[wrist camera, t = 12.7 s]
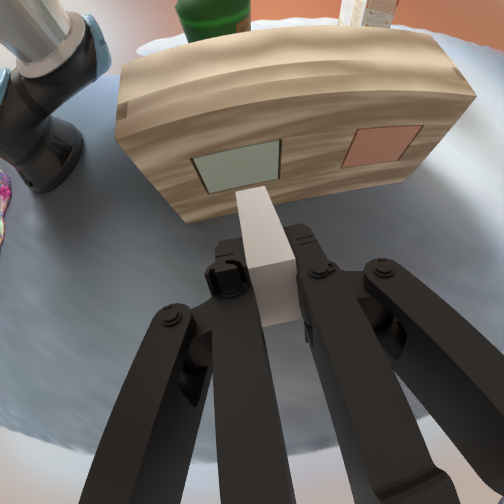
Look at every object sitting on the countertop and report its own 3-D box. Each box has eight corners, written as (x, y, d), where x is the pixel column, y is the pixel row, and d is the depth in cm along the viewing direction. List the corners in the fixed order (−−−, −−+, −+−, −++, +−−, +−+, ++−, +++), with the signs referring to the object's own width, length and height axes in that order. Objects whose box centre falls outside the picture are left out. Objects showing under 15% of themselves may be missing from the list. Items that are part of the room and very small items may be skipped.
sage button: (277, 178, 33) (279, 140, 25) (209, 193, 33) (193, 158, 25) (271, 157, 34) (271, 116, 26) (206, 171, 34) (189, 133, 26)
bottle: (269, 83, 46) (264, -55, 19) (220, 111, 45) (185, -34, 18) (234, 57, 48) (215, -63, 21) (188, 83, 47) (147, -41, 20)
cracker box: (376, 71, 46) (403, -9, 26) (348, 67, 46) (369, -17, 26) (360, 34, 49) (377, -36, 29) (335, 31, 49) (347, -42, 29)
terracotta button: (396, 160, 33) (421, 125, 25) (341, 167, 33) (358, 129, 25) (388, 141, 33) (410, 104, 26) (334, 147, 34) (347, 107, 26)
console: (404, 181, 41) (476, 95, 19) (186, 224, 41) (114, 140, 20) (381, 130, 43) (429, 34, 21) (179, 165, 43) (122, 64, 22)
